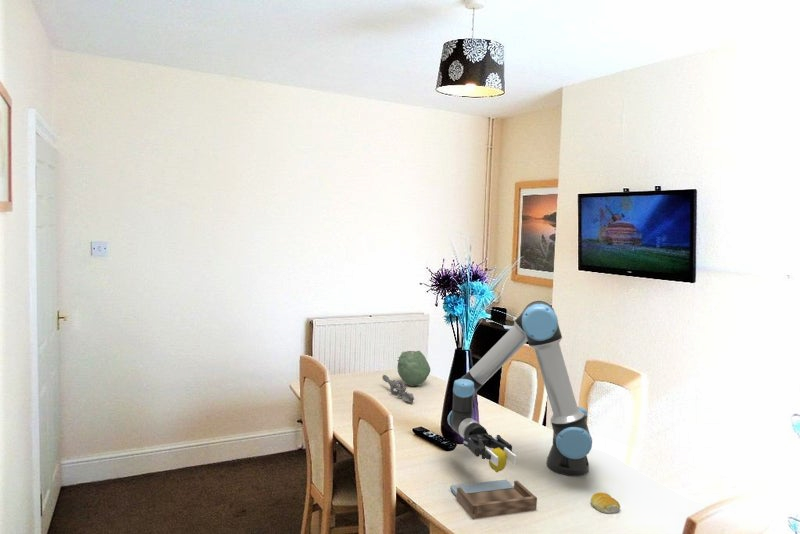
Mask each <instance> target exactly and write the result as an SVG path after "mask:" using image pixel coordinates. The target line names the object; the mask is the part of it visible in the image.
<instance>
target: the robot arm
mask: <svg viewBox="0 0 800 534" xmlns="http://www.w3.org/2000/svg"><path fill="white" fill-rule="evenodd" d="M513 322H514V325H512V326H511V328H510V329H509V330H508V331H507V332H505V334H504V335H502V337H501V338H500V339H499V340H498V341H497V342H496V343H495V344H494V345H493V346H492V347H491V348H490V349H489V350H488V351H487V352H486V353H485V354H484V355H483V356H482V358H480V359H479V360H478V361H477V362H476V363H475V364H474V365H473V366H472V368H470V369H469V371H467V373H465V374H464V375H463V376H461V377H460V378H458V379H455V380H454V382H453V387H452V410H451V411H449V414H448V415H447V424H448V425H449V426H450V428H451V429H452V430H453V431H454V432H455V433H457V434H458V435H459V436H460V437H461V438H463V446H464V447H466V448H467V449H469V451H470V452H471V453H472V454H473V455H474V456H475V457H477V458H478V457H480V456H481V460H488V461H489V460H490V461H491V462H492V463H493V464H494V465H495V466H498V456H496V455H495V454H494V453H493V452H492V450H493V449H495V448H500V449H502V450H503V451H504V452H505V454H506V460H508V461H509V462H510V463H512V464H513V465H517V455H516V453H514V451H513V445H512V444H511V443H509V441H506V440H505V439H504V438H503V437H502V436H501V435H499V434H496V435H495V436H493V435H492V434H489V433H488V431H487V429H486V428H485V427H484V426H483V425H482V424H480V423H479V422H478V421H476V420H475V419H474V418H473V412H474V399H475V395H476V393H477V392H478V391H479V390H480V389H481V388H482V387H483V386H484V385H485V383H486V382H487V381H490V380H489V379H491V378H492V377H493V376H494V374H496V373H497V372H498V370H500V369H501V368H502V366H504V365H505V364H506V363H507V362H508V361H509V360H510V359H511V358H512V357H513V356H514V355H515V354H516V353H518V351H519V350H520V349H521V348H522V347H523V346H524V345H525V344H527V342H528V345H529V347H531V348H532V349H534V351H535V356H536V359H537V363H538V365H539V369H540V373H541V376H542V380H543V383H544V386H545V390H546V394H547V397H548V400H549V404H550V408H551V411H552V416H551V418H550V424H551V426H552V427H551V428H552V430H553V433H552V446H551V448H550V450H549V453H548V455H547V456H546V466H547V468H548V469H550V470H551V471H553V472H554V473H557V474H561V475H565V476H568V477H569V476H570V477H578V476H579V477H580V476H584V475H587V474H588V473H589V470H590V463H589V461H588V456H587V455H589V453H591V452H590V451H591V450H592V447H593V438H592V436H591V433H590V431H589V426H588V421H587V420H588V410H587V409H586V408H584V407H580V406H578V404H577V402H576V398H575V393H574V391H573V387H572V384H571V380H570V376H569V373H568V370H567V366H566V362H565V360H564V355H563V353H562V348H561V346H560V342H561V341H562V339H563V336H562V332H561V329H560V326H559V320H558V316H557V314H556V312H555V310H554V308H553V307H552V305H551V304H549V303H548V302H546V301H543V300H534V301H532V302H530V303H529V304H527V305H526V306H525V308H524V309H523V310H522V312H520V313H519V316H518V317H517V318H515V320H514V321H513ZM486 447H487V448H486ZM490 449H492V450H490Z"/></svg>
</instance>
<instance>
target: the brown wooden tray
mask: <svg viewBox="0 0 800 534" xmlns="http://www.w3.org/2000/svg"><path fill="white" fill-rule="evenodd" d="M513 486H514V488H512V489H504V490H496V491H488V492H479V493H471V494H466V493H465V492H464V491H463V490H462V488H461V487H459V488H457V496H456V501H457V502H458V504H460V506H461V507H462V508H463V509H464V511H465V512H466V513H467V514H468V515H469V516H470V517H471V519H472V520H475V519H482V518H490V517H499V516H504V515H512V514H518V513H519V514H520V513H525V512H533V511H537V504H538V498H537V496H535V494H533V493H532V492H531V491H530V490H529V489H528V488H527V487H525V486H524V485H523V484H522V483H521V482H520V481H518V480H514V481H513Z"/></svg>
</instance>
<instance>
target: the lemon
mask: <svg viewBox="0 0 800 534" xmlns="http://www.w3.org/2000/svg"><path fill="white" fill-rule="evenodd" d="M491 451H492V452H493V453H494V454H495V455H496V456H498V466H495V465H494V464H493V463H492V462H491V461H490V460H488V464H489V467H490V468H491V469H492V470H493V471H495V473H499V472H502V471H503V470H504V469H505V467H506V466H507V458H506V454H505V452H504V451H503V450H502V449H500V448H495V449H493V448H492V450H491Z"/></svg>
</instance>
